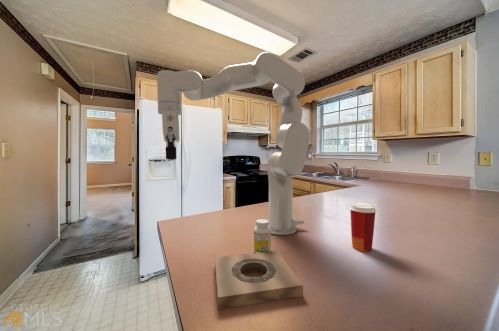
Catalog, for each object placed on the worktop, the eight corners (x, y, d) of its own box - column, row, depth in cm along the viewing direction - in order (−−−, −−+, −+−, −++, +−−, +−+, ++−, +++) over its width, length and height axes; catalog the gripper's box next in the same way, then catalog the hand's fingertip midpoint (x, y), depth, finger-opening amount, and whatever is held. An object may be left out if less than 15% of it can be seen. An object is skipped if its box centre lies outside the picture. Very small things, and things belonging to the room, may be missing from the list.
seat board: (277, 259, 59) (277, 250, 59) (302, 296, 43) (303, 285, 43) (215, 266, 55) (215, 257, 55) (218, 309, 40) (217, 297, 40)
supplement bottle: (264, 256, 61) (264, 225, 60) (250, 251, 64) (250, 221, 64) (274, 250, 65) (274, 220, 64) (260, 245, 68) (260, 217, 68)
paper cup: (372, 244, 68) (373, 203, 67) (378, 255, 61) (379, 209, 60) (346, 241, 71) (347, 201, 70) (349, 251, 63) (350, 207, 63)
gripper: (182, 104, 63) (183, 159, 64) (180, 114, 79) (181, 158, 80) (156, 102, 60) (157, 159, 61) (159, 113, 77) (160, 158, 77)
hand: (171, 159), depth 71 cm, fingers open, 9 cm apart
